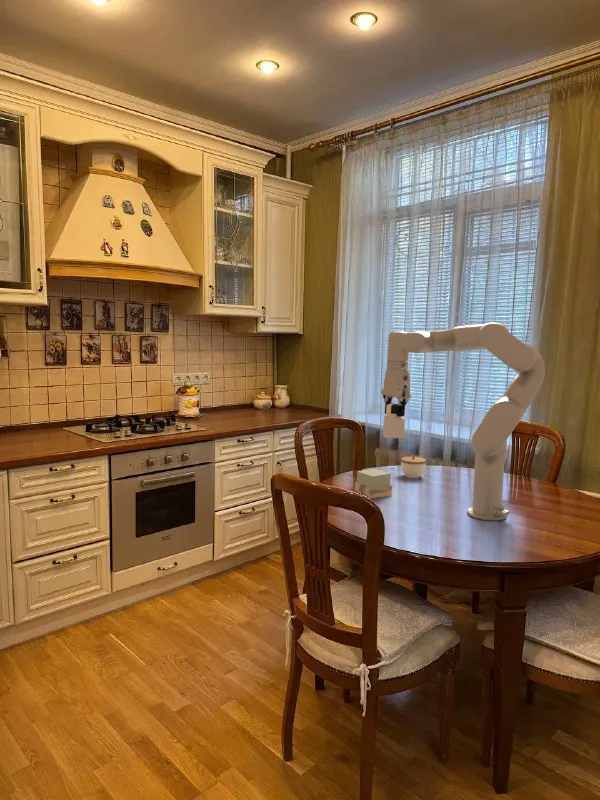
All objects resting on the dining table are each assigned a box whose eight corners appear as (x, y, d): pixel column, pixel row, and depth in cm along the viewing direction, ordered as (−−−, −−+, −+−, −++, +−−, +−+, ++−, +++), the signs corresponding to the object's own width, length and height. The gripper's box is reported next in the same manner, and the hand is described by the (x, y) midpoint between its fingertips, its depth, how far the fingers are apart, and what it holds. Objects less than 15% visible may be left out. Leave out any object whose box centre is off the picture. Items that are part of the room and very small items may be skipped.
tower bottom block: (391, 496, 213) (392, 485, 212) (370, 500, 208) (371, 488, 207) (375, 490, 221) (375, 479, 221) (355, 493, 216) (355, 482, 216)
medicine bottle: (402, 434, 208) (403, 403, 206) (403, 438, 201) (405, 405, 199) (382, 433, 208) (384, 402, 207) (384, 437, 201) (385, 404, 200)
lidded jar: (409, 472, 250) (409, 451, 249) (429, 476, 242) (431, 455, 241) (395, 476, 242) (396, 455, 241) (416, 481, 235) (417, 459, 234)
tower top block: (390, 484, 213) (390, 473, 212) (372, 488, 208) (372, 476, 207) (374, 479, 220) (374, 468, 220) (356, 482, 215) (357, 471, 214)
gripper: (421, 367, 196) (418, 418, 198) (390, 364, 211) (387, 411, 213) (405, 367, 192) (402, 419, 194) (374, 364, 207) (371, 412, 209)
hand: (394, 414), depth 204 cm, fingers closed on medicine bottle, 6 cm apart
